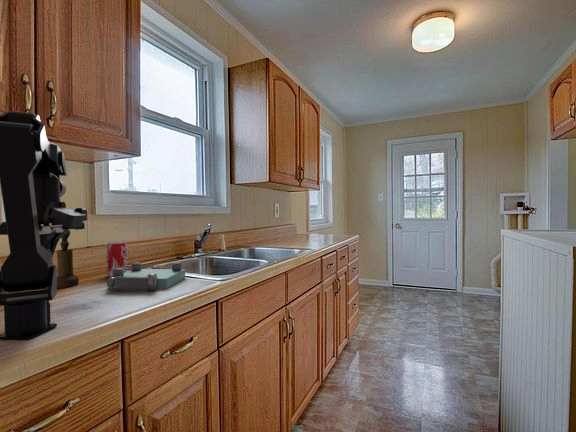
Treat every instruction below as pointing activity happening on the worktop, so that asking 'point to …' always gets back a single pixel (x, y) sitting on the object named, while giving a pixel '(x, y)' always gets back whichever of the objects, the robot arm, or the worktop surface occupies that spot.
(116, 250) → the soda can
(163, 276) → the stool seat
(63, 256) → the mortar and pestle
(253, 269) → the worktop surface
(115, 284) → the folding leg
